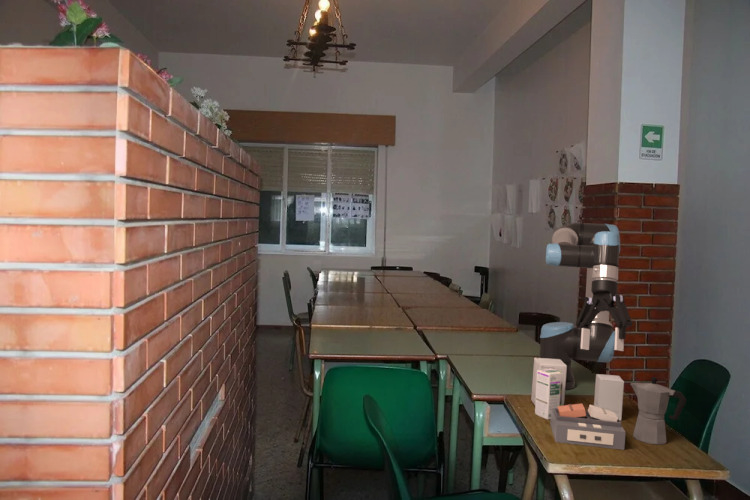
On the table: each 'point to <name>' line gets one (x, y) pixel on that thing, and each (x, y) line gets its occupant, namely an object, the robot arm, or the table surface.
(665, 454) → the table surface
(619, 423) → the console
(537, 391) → the syrup box
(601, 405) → the supplement box
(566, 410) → the rocker
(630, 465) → the table surface
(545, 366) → the supplement box
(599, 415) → the rocker
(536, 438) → the table surface
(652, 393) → the coffeepot
